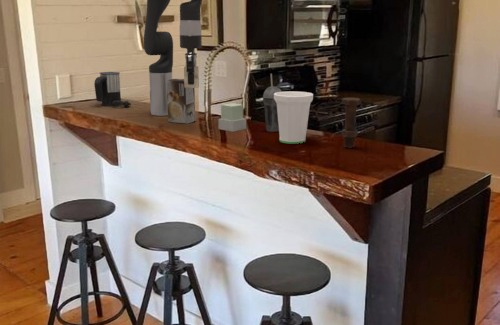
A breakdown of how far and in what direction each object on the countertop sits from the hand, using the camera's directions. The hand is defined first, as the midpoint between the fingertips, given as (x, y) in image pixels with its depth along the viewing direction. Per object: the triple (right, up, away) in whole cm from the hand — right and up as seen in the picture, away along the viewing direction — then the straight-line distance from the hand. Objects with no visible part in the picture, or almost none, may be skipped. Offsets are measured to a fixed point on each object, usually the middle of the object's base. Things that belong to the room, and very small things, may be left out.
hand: (191, 83), depth 188 cm
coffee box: (-5, -13, +16) cm, 21 cm away
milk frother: (-40, -3, +53) cm, 66 cm away
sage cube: (+14, -13, +1) cm, 19 cm away
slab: (+14, -16, +2) cm, 22 cm away
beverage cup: (+29, -17, 0) cm, 33 cm away
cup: (+34, -21, -17) cm, 44 cm away
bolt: (+51, -24, -25) cm, 62 cm away
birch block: (0, -1, 0) cm, 1 cm away
